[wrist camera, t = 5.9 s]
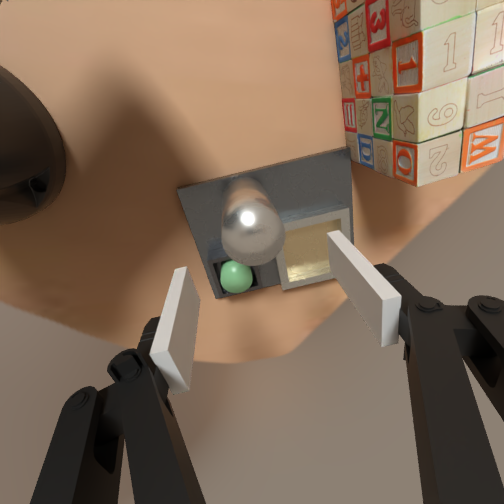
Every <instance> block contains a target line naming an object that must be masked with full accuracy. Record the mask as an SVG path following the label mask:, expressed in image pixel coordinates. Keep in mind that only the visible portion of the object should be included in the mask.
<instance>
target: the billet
mask: <svg viewBox="0 0 504 504" xmlns="http://www.w3.org/2000/svg"><path fill="white" fill-rule="evenodd" d="M285 237H286V234H285V228H284V225H283V223H282V221H281V219H280V217H279V215H278V213H277V211H276V209H275V207H274V205H273V203H272V202H271V200H270V198H269V196H268V194H267V192H266V190H265V188H264V186H263V185H262V184H261V183H260V182H259V181H257V180H256V179H253V178H250V177H240V178H237V179H234V180H233V181H231V182H230V183H229V184H228V185H227V186H226V188H225V189H224V192H223V195H222V234H221V239H222V245H223V248H224V250H225V252H226V253H227V255H228V256H229V257H230V258H231V259H232V260H234V261H236V262H237V263H240V264H243V265H247V266H257V265H262V264H265V263H267V262H269V261H271V260H272V259H274V258H275V257H276V256H277V255H278V254H279V253H280V251H281V250H282V248H283V246H284V243H285Z"/></svg>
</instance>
